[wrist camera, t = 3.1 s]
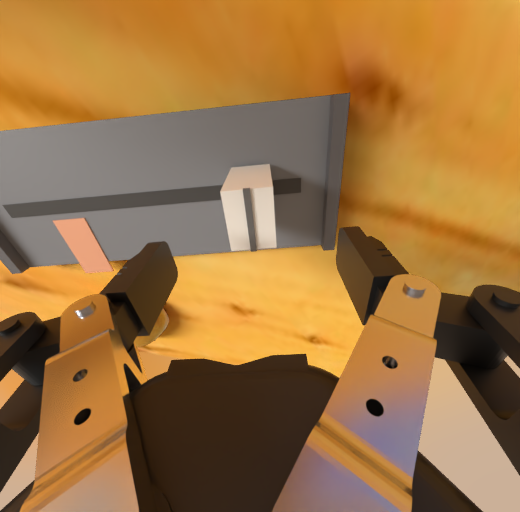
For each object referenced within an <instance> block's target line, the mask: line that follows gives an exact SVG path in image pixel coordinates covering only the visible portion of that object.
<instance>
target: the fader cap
mask: <svg viewBox="0 0 520 512" xmlns="http://www.w3.org/2000/svg"><path fill="white" fill-rule="evenodd" d="M220 194H221V199H222V204H223V210H224V215H225V220H226V226H227V231H228V236H229V242H230V247H231V251H240V250H251V251H257V249H266V248H277V246H276V229H275V212H274V195H273V184H272V177H271V170H270V164H262V165H252V166H241V167H231V169H230V171H229V174H228V176H227V178H226V180H225V182H224V184H223V186H222V189H221V191H220Z"/></svg>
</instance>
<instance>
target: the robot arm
mask: <svg viewBox="0 0 520 512" xmlns="http://www.w3.org/2000/svg"><path fill="white" fill-rule="evenodd" d="M336 264H337V269H338V271H339V274H340V276H341V278H342V280H343V282H344V285H345V287H346V289H347V291H348V293H349V296H350V298H351V300H352V302H353V305H354V307H355V309H356V311H357V313H358V316H359V318H360V320H361V322H362V324H363V325H365V327H364V329H363V331H362V333H361V335H360V338H359V340H358V342H357V344H356V346H355V348H354V350H353V352H352V354H351V356H350V358H349V360H348V362H347V364H346V367H345V369H344V371H343V373H342V375H341V377H340V378H338V377H337V376H335V375H333V374H332V373H330V372H328V371H326V370H323V369H321V368H318V367H315V366H311V365H308V362H307V356H306V354H293V355H272V356H269V357H265V358H262V359H258V360H255V361H251V362H248V363H245V364H241V365H231V364H226V363H222V362H217V361H212V360H208V359H184V360H172V361H171V363H170V366H169V369H168V371H167V372H165V373H163V374H160V375H158V376H155V377H154V378H152V379H150V380H148V379H147V376H146V373H145V370H144V367H143V364H142V361H141V358H140V354H139V351H138V348H137V346H136V344H135V342H134V341H135V339H136V337H137V336H150V334H151V332H152V330H153V327H154V325H155V323H156V321H157V319H158V317H159V315H160V313H161V311H162V309H163V307H164V305H165V303H166V301H167V299H168V297H169V295H170V293H171V291H172V289H173V287H174V285H175V283H176V281H177V277H178V271H177V267H176V264H175V261H174V259H173V256H172V253H171V250H170V248H169V245H168V243H167V242H165V241H161V242H149V243H147V244H146V245H145V247H144V248H143V249H142V250H141V251H140V253H139V254H137V255H135V256H134V257H133V258H131V259H130V260H128V261H127V263H126V264H125V265H124V266H123V267H122V268H123V269H121V270H120V271H119V272H118V273H117V275H115V276H114V278H113V279H112V280H111V281H110V282H109V283H108V284H107V286H106V287H105V288H104V289H103V290H102V291H101V293H100V294H95V295H90V296H87V297H84V298H82V299H80V300H78V301H76V302H74V303H73V304H71V305H70V306H69V307H68V308H67V309H66V310H65V311H64V312H63V313H62V315H61V317H57V318H54V319H50V320H47V321H43V322H42V321H41V319H40V318H39V317H38V316H37V315H36V314H35V313H33V312H25V313H20V314H17V315H14V316H12V317H9V318H7V319H5V320H3V321H1V322H0V381H1V380H2V379H3V378H4V377H5V375H6V374H7V373H8V372H9V371H10V370H11V369H13V370H14V371H15V372H16V373H18V374H19V375H20V376H21V377H22V378H24V379H25V380H24V381H23V382H22V383H21V385H20V386H19V387H18V388H17V390H16V391H15V392H14V394H13V395H12V396H11V397H10V398H9V399H8V401H7V402H6V403H5V404H4V406H3V407H2V408H1V409H0V492H1V491H2V489H3V487H4V486H5V484H6V482H7V481H8V480H9V478H10V476H11V475H12V473H13V472H14V470H15V469H16V467H17V466H18V464H19V462H20V461H21V459H22V458H23V456H24V455H25V453H26V451H27V449H28V448H29V447H30V445H31V443H32V442H33V440H34V439H35V437H36V436H37V434H38V433H39V438H38V449H37V460H36V471H35V480H34V481H33V482H32V483H31V484H29V485H28V486H27V487H26V488H25V489H24V490H23V491H22V492H21V493H19V494H18V495H17V496H16V497H15V498H14V499H13V500H12V501H11V502H10V503H9V504H7V505H6V506H5V507H4V508H3V509H2V510H1V511H0V512H483V511H482V510H481V509H479V508H478V507H477V506H476V505H475V504H474V503H473V502H472V501H471V500H470V499H469V498H468V497H467V496H466V495H465V494H464V493H462V492H461V491H460V490H459V489H458V488H457V487H456V486H455V485H454V484H453V483H452V482H451V481H450V480H449V479H448V478H447V477H446V476H445V475H443V474H442V473H441V472H440V471H439V470H438V469H437V468H436V467H435V466H434V465H433V464H432V463H431V462H430V461H429V460H428V459H427V458H425V457H424V456H423V455H422V454H421V453H420V452H419V451H418V446H419V440H420V434H421V429H422V424H423V418H424V412H425V407H426V401H427V396H428V390H429V384H430V379H431V373H432V368H433V362H434V357H436V358H441V359H445V360H446V362H447V363H448V365H449V366H450V368H451V370H452V371H453V373H454V374H455V375H456V377H457V379H458V380H459V382H460V383H461V385H462V386H463V388H464V390H465V391H466V393H467V394H468V396H469V397H470V399H471V400H472V402H473V404H474V405H475V407H476V408H477V410H478V411H479V413H480V415H481V416H482V418H483V419H484V421H485V422H486V424H487V425H488V427H489V429H490V430H491V432H492V433H493V435H494V436H495V438H496V439H497V441H498V442H499V444H500V446H501V447H502V449H503V450H504V451H505V453H506V455H507V456H508V458H509V459H510V461H511V463H512V464H513V466H514V467H515V469H516V470H517V472H518V474H519V475H520V378H519V377H518V376H517V374H516V373H515V372H514V371H513V370H512V369H511V368H510V366H509V365H508V364H507V363H506V362H505V361H504V359H505V358H506V357H507V356H509V357H510V358H511V359H512V360H513V361H514V363H515V364H516V365H517V366H518V367H519V368H520V293H519V292H517V291H514V290H512V289H509V288H505V287H501V286H496V285H481V286H478V287H476V288H475V289H474V290H473V292H472V294H471V296H470V297H468V296H461V295H454V294H447V293H442V292H441V291H440V290H439V288H438V287H437V286H436V285H435V284H434V283H432V282H431V281H429V280H427V279H425V278H423V277H419V276H416V275H410V274H409V273H408V272H407V271H406V270H405V269H404V268H403V266H402V265H401V264H400V263H399V262H398V261H397V259H396V258H395V257H394V256H392V254H391V253H390V251H389V250H387V248H386V247H385V246H384V244H383V243H382V242H381V241H379V240H377V239H375V238H373V237H372V236H369V237H367V236H366V235H365V234H364V233H363V231H362V230H361V229H360V227H358V226H357V227H344V228H340V230H339V236H338V245H337V255H336Z"/></svg>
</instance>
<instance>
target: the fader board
mask: <svg viewBox="0 0 520 512" xmlns="http://www.w3.org/2000/svg"><path fill="white" fill-rule="evenodd" d="M349 101H350V93H345V94H335V95H327V96H318V97H309V98H300V99H291V100H281V101H272V102H263V103H254V104H245V105H236V106H226V107H217V108H208V109H199V110H190V111H181V112H171V113H162V114H153V115H144V116H135V117H125V118H116V119H107V120H98V121H89V122H80V123H70V124H61V125H52V126H43V127H34V128H25V129H15V130H6V131H0V260H1V261H2V262H3V264H4V265H5V266H6V267H7V268H8V269H9V270H10V272H11V273H12V274H15V273H22V272H24V271H25V270H27V269H28V268H29V267H38V266H51V265H64V264H78V263H80V265H81V266H82V268H83V270H84V271H85V273H94V272H108V271H114V270H113V268H112V266H111V265H110V263H109V261H117V260H130V259H131V258H133V257H134V256H135V255H137V254H139V253H140V251H141V250H142V249H143V248H144V247H145V245H146V244H147V243H149V242H161V241H165V242H167V243H168V245H169V248H170V250H171V253H172V256H183V255H196V254H209V253H222V252H235V251H231V247H230V242H229V236H228V231H227V226H226V220H225V215H224V210H223V204H222V199H221V194H220V191H221V189H222V186H223V184H224V182H225V180H226V178H227V176H228V174H229V171H230V169H231V167H241V166H252V165H262V164H270V170H271V177H272V184H273V195H274V212H275V229H276V246H277V248H288V247H301V246H314V245H321V246H322V248H323V250H334V247H335V238H336V228H337V218H338V208H339V198H340V189H341V179H342V169H343V159H344V150H345V140H346V130H347V120H348V111H349ZM266 249H275V248H266ZM257 250H262V249H257ZM240 251H249V250H240Z"/></svg>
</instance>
